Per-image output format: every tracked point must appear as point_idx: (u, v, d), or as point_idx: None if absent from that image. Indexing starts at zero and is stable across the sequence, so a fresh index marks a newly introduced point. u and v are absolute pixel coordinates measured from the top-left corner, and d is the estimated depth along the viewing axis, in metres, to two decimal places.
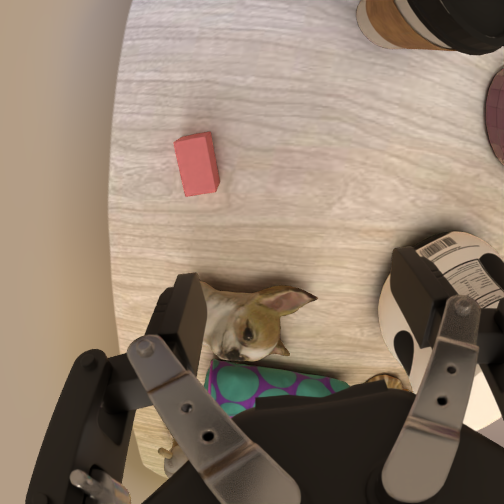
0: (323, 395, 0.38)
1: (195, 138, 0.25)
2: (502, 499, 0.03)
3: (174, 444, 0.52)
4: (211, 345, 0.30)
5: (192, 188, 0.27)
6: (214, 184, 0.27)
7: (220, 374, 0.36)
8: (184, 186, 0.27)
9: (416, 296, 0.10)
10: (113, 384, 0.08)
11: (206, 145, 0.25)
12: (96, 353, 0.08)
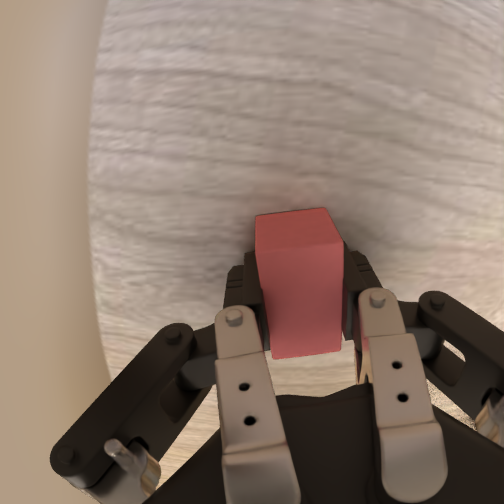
0: None
1: (316, 246, 0.10)
2: (502, 499, 0.03)
3: None
4: None
5: (292, 347, 0.12)
6: (340, 338, 0.12)
7: None
8: (273, 343, 0.12)
9: None
10: (200, 357, 0.09)
11: (341, 264, 0.10)
12: (185, 329, 0.09)
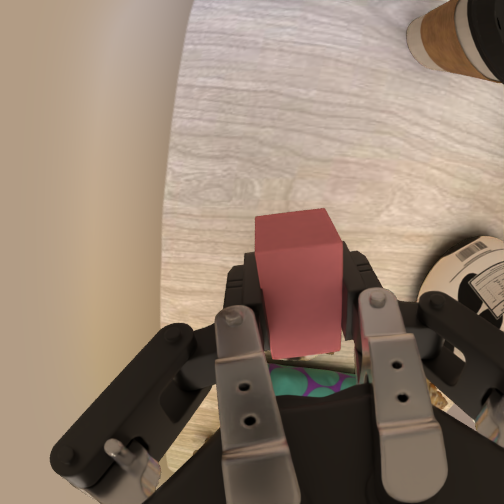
0: None
1: (316, 246, 0.10)
2: (502, 499, 0.03)
3: None
4: None
5: (291, 347, 0.12)
6: (339, 338, 0.12)
7: (272, 376, 0.37)
8: (273, 344, 0.12)
9: None
10: (200, 357, 0.09)
11: (341, 264, 0.10)
12: (185, 329, 0.09)
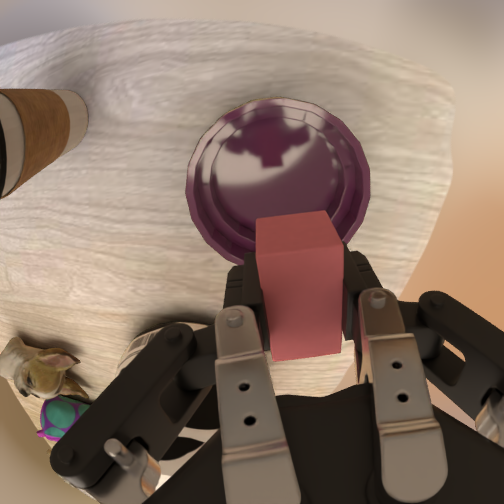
0: None
1: (317, 249, 0.10)
2: (502, 499, 0.03)
3: None
4: None
5: (292, 349, 0.12)
6: (340, 340, 0.12)
7: (49, 406, 0.38)
8: (274, 346, 0.12)
9: None
10: (200, 357, 0.09)
11: (341, 267, 0.10)
12: (185, 329, 0.09)
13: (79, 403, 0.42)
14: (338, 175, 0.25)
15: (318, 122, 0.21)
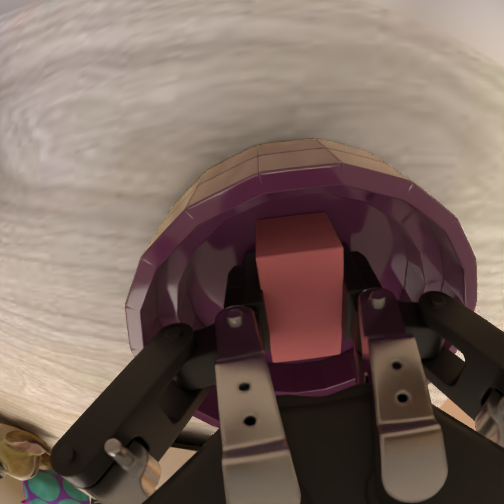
0: None
1: (317, 251, 0.10)
2: (502, 499, 0.03)
3: None
4: None
5: (292, 350, 0.12)
6: (340, 342, 0.12)
7: None
8: (273, 347, 0.12)
9: None
10: (200, 357, 0.09)
11: (341, 269, 0.10)
12: (185, 329, 0.09)
13: None
14: (405, 280, 0.14)
15: (397, 205, 0.10)
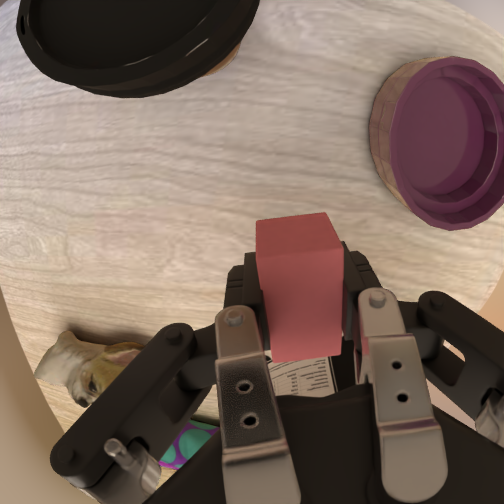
0: None
1: (317, 252, 0.10)
2: (502, 499, 0.03)
3: None
4: (68, 391, 0.28)
5: (292, 351, 0.12)
6: (340, 342, 0.12)
7: None
8: (274, 347, 0.12)
9: None
10: (200, 357, 0.09)
11: (341, 269, 0.10)
12: (185, 329, 0.09)
13: None
14: (484, 141, 0.21)
15: (484, 89, 0.17)
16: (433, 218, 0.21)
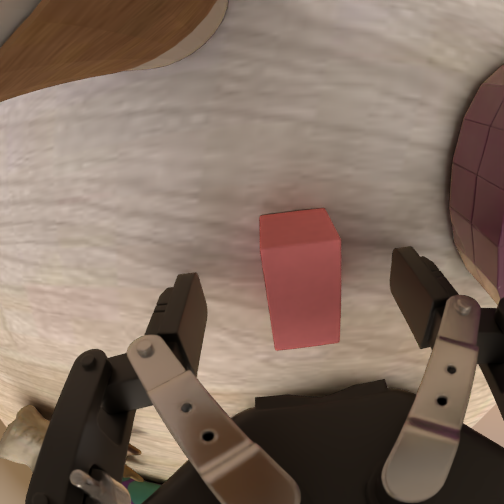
0: None
1: (316, 243, 0.11)
2: (502, 499, 0.03)
3: None
4: None
5: (293, 338, 0.13)
6: (338, 330, 0.13)
7: None
8: (276, 335, 0.13)
9: (416, 296, 0.10)
10: (113, 384, 0.08)
11: (339, 259, 0.11)
12: (96, 354, 0.08)
13: (126, 481, 0.28)
14: None
15: None
16: None
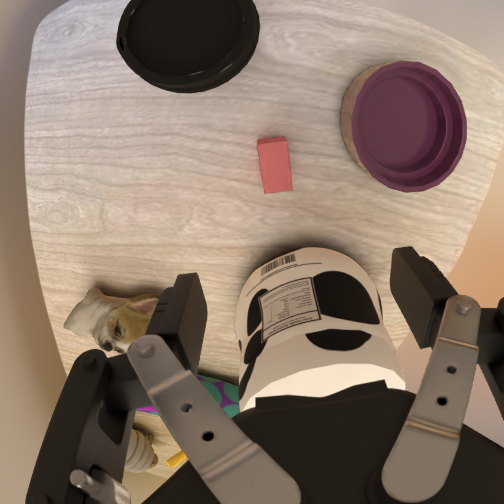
0: (213, 396, 0.44)
1: (277, 142, 0.28)
2: (502, 499, 0.03)
3: None
4: None
5: (272, 186, 0.30)
6: (291, 183, 0.30)
7: None
8: (264, 184, 0.30)
9: (416, 296, 0.10)
10: (113, 384, 0.08)
11: (287, 149, 0.28)
12: (96, 353, 0.08)
13: None
14: (437, 125, 0.29)
15: (432, 84, 0.25)
16: (391, 182, 0.28)
